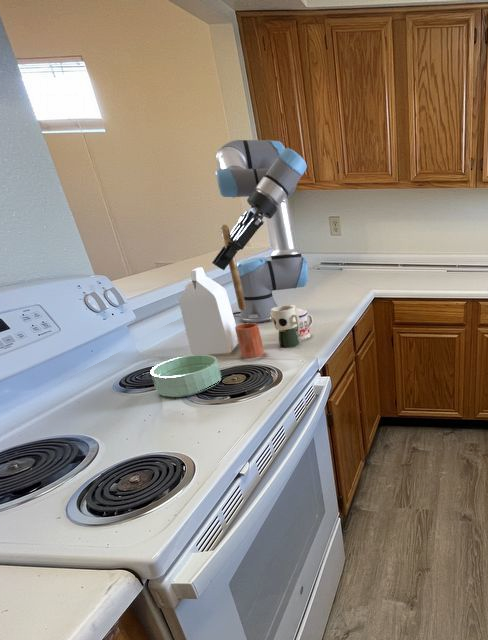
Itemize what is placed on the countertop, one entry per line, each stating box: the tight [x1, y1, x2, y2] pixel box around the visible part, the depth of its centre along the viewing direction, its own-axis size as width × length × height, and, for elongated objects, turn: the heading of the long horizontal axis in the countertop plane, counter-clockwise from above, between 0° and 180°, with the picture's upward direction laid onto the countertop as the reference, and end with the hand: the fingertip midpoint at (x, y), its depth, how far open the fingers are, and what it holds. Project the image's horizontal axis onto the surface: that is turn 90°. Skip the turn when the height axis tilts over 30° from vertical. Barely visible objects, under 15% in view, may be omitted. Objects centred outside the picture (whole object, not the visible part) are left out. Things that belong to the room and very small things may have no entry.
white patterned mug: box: [290, 304, 314, 341], centre depth 143 cm, size 12×9×12 cm
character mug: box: [270, 304, 300, 349], centre depth 134 cm, size 11×7×13 cm, turn 68°
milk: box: [178, 266, 239, 355], centre depth 130 cm, size 12×12×26 cm
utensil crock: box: [235, 322, 265, 359], centre depth 127 cm, size 6×6×10 cm
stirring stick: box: [220, 224, 246, 311], centre depth 118 cm, size 2×2×24 cm
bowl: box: [150, 354, 223, 398], centre depth 109 cm, size 15×15×6 cm
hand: (218, 266), depth 115 cm, fingers closed on stirring stick, 2 cm apart
